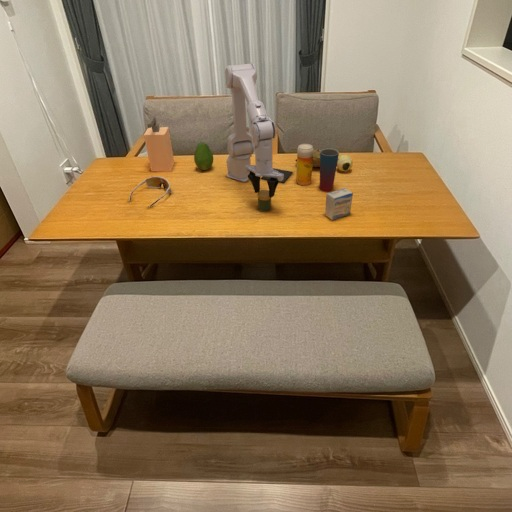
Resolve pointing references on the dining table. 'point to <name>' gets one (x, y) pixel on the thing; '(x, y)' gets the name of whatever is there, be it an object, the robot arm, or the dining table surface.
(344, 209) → the medicine box
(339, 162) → the cream rounded piece
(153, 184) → the sunglasses
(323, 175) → the cup
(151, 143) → the soap dispenser
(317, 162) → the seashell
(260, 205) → the jar
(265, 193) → the lid
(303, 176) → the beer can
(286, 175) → the coaster
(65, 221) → the dining table surface
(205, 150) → the fruit
